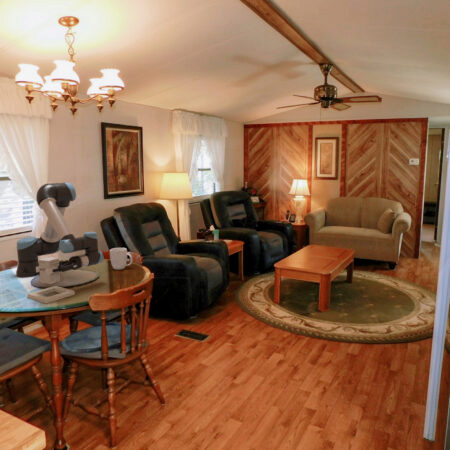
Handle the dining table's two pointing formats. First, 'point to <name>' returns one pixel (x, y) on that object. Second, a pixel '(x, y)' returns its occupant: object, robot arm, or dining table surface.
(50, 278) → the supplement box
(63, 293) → the hole board
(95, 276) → the dining table surface
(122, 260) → the mug
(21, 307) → the dining table surface
